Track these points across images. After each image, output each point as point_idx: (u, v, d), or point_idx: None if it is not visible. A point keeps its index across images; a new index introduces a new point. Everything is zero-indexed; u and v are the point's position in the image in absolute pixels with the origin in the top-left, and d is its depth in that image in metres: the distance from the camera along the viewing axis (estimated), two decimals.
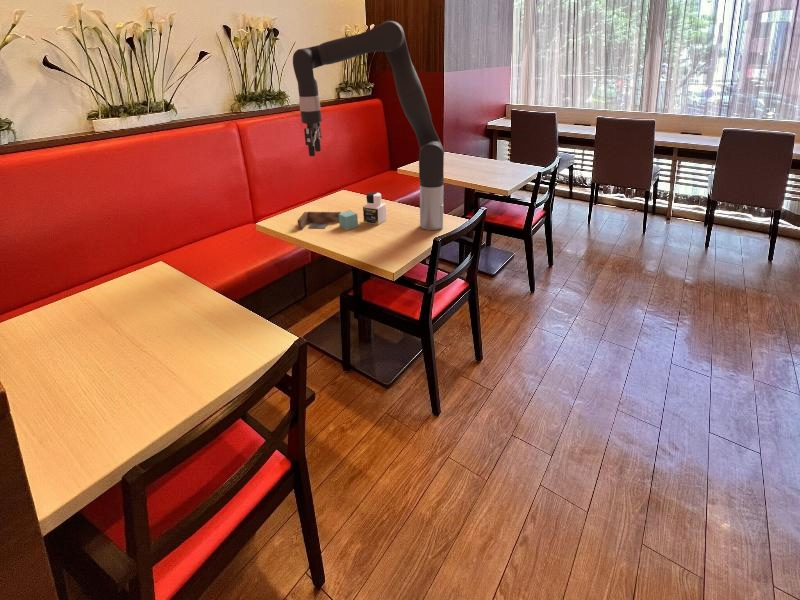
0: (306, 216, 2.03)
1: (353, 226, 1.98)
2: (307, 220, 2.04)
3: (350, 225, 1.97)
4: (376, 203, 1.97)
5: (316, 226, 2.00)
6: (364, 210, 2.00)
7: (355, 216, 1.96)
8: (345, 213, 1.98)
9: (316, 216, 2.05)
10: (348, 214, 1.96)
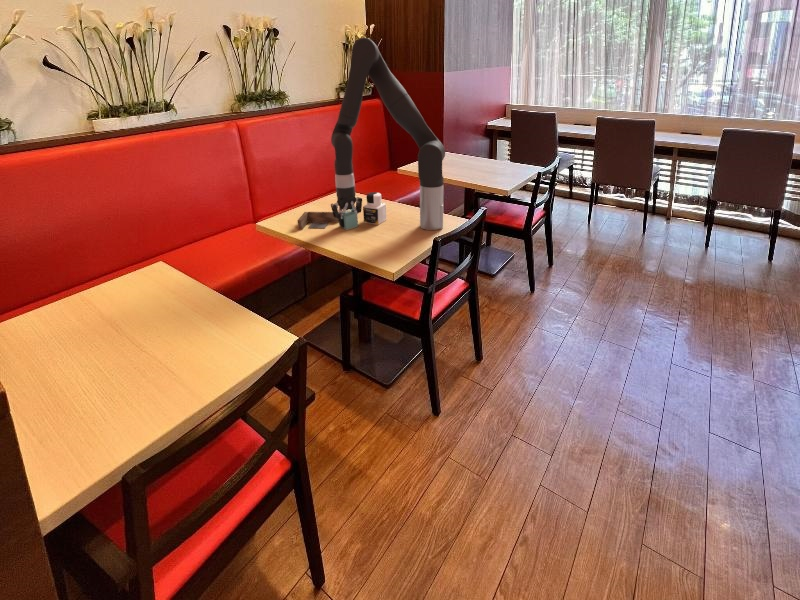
0: (306, 216, 2.03)
1: (353, 226, 1.98)
2: (307, 220, 2.04)
3: (350, 225, 1.97)
4: (376, 203, 1.97)
5: (316, 226, 2.00)
6: (364, 210, 2.00)
7: (355, 216, 1.96)
8: (345, 213, 1.97)
9: (316, 216, 2.05)
10: (348, 214, 1.96)
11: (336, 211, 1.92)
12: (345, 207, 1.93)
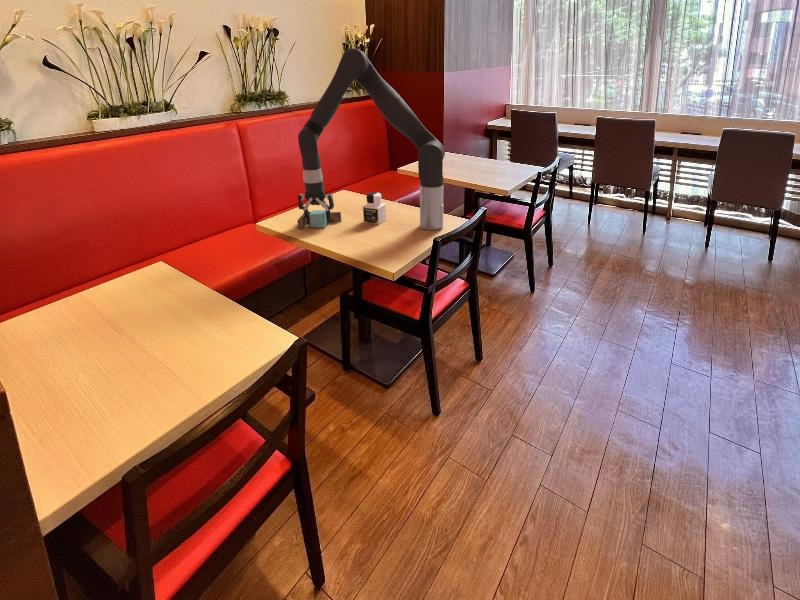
0: None
1: (318, 225, 1.99)
2: (307, 220, 2.04)
3: (315, 223, 1.98)
4: (376, 203, 1.97)
5: None
6: (364, 210, 2.00)
7: (320, 216, 1.97)
8: (317, 211, 2.00)
9: None
10: (316, 213, 1.98)
11: (299, 201, 1.96)
12: (309, 201, 1.95)
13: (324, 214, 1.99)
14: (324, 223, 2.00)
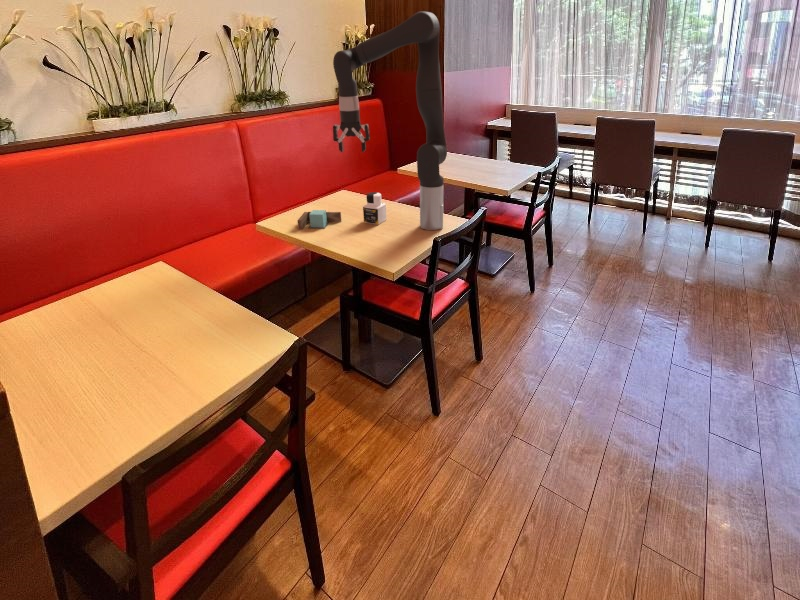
0: (306, 216, 2.03)
1: (318, 225, 1.99)
2: (307, 220, 2.04)
3: (315, 223, 1.98)
4: (376, 203, 1.97)
5: None
6: (364, 210, 2.00)
7: (320, 216, 1.97)
8: (317, 211, 2.00)
9: None
10: (316, 213, 1.98)
11: (334, 132, 1.89)
12: (344, 132, 1.88)
13: (324, 214, 1.99)
14: (324, 223, 2.00)
